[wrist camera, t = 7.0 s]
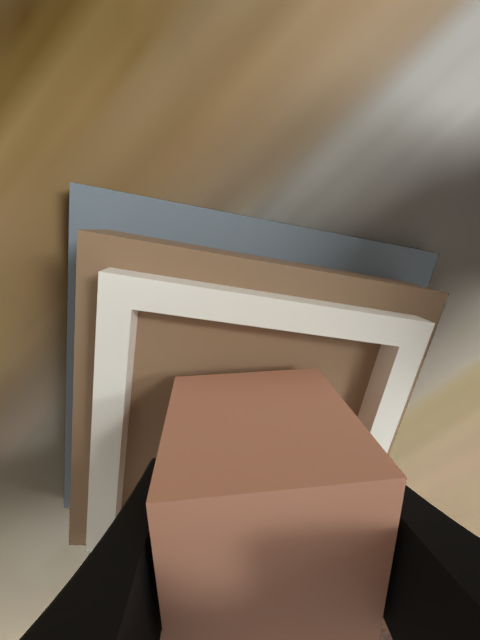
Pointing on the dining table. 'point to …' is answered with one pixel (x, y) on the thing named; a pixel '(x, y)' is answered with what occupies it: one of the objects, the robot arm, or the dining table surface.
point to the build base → (221, 326)
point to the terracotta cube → (270, 511)
